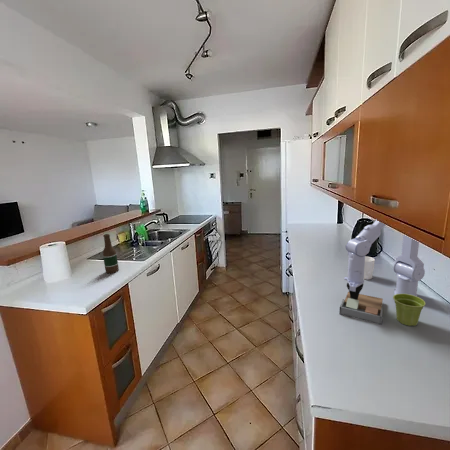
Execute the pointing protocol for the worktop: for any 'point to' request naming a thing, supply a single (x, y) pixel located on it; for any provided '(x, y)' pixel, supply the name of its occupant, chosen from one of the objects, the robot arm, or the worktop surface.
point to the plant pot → (408, 308)
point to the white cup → (368, 267)
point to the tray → (360, 314)
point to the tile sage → (352, 304)
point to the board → (367, 302)
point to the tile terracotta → (371, 310)
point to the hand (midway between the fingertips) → (354, 300)
